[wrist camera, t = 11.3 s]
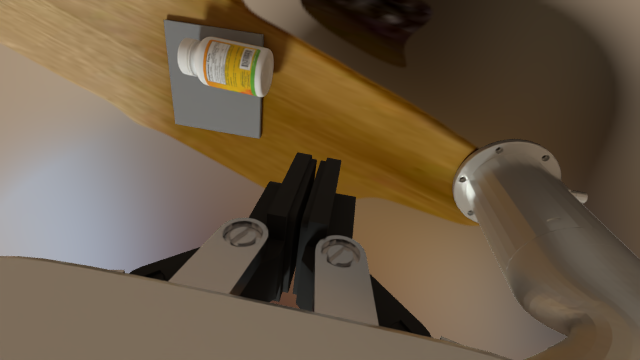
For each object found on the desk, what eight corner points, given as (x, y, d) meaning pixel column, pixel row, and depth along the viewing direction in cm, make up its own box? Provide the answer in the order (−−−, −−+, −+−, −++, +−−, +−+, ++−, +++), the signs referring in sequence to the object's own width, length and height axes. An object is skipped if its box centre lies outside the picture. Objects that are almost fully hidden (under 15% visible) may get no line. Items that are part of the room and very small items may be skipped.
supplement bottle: (273, 87, 40) (199, 71, 40) (276, 42, 36) (195, 25, 37) (259, 105, 36) (177, 87, 36) (261, 57, 32) (169, 38, 33)
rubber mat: (263, 34, 37) (262, 35, 37) (260, 136, 44) (259, 138, 43) (166, 19, 38) (163, 19, 37) (177, 122, 44) (175, 123, 44)
